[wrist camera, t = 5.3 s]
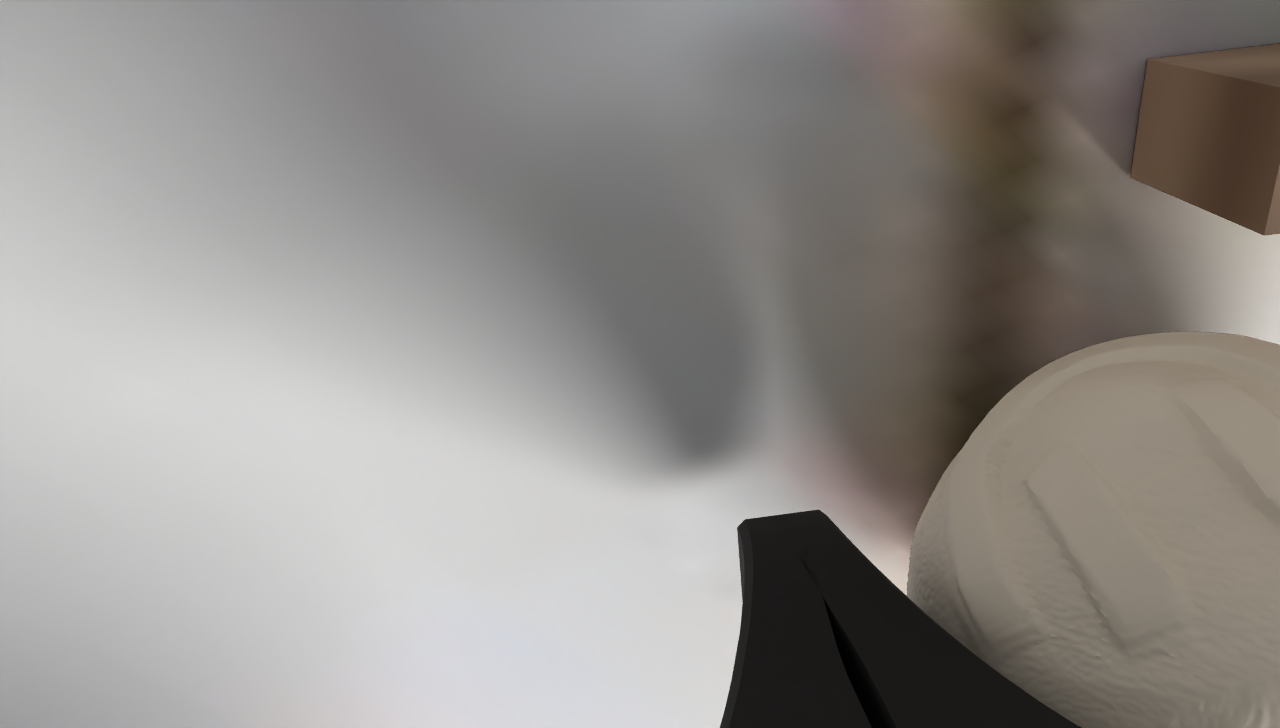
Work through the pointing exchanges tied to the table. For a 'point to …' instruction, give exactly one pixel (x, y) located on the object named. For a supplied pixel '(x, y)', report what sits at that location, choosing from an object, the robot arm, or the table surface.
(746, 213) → the table surface
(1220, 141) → the pocket
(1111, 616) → the baseball
